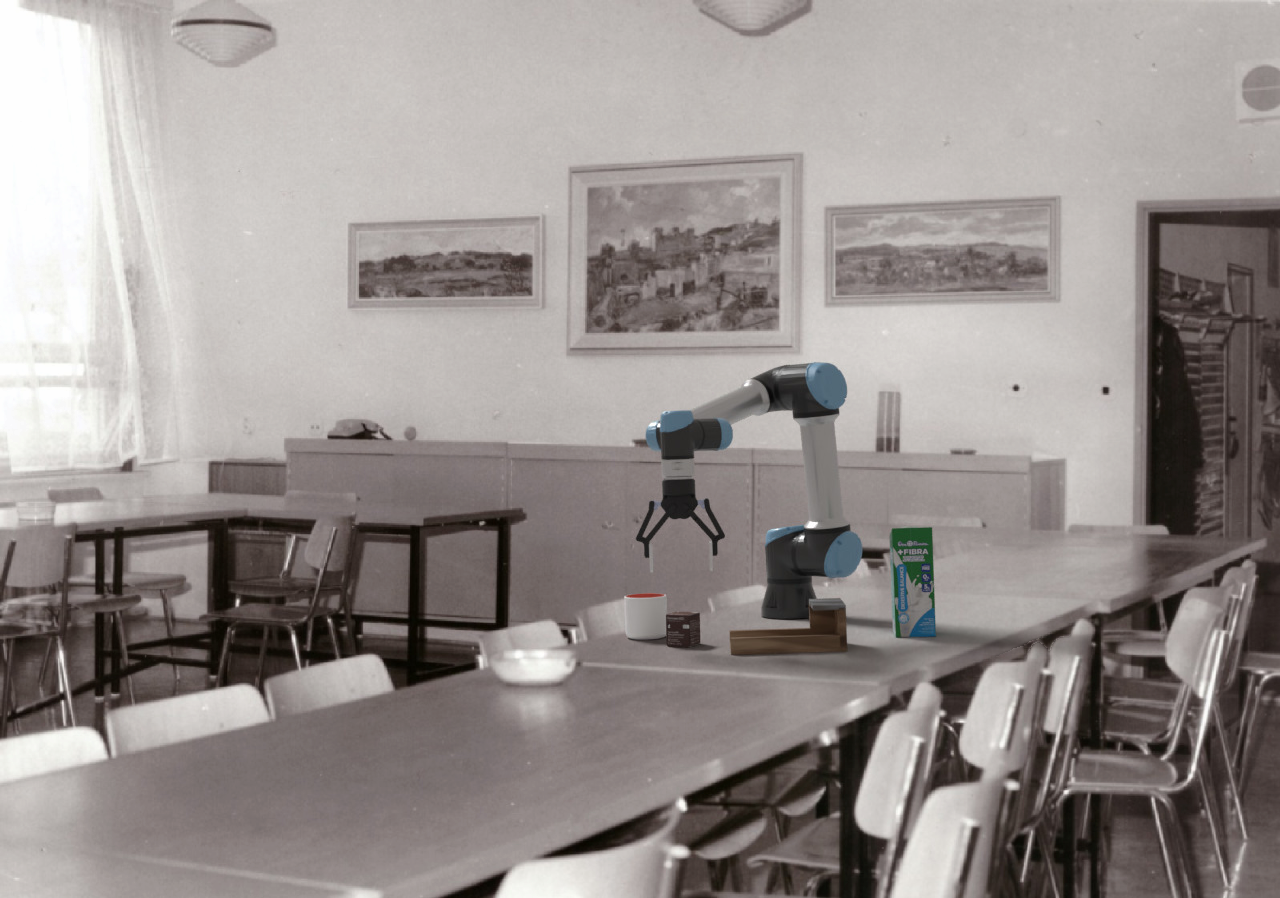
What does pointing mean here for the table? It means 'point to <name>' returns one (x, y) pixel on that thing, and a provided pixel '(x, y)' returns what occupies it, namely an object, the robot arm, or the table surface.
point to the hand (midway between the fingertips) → (681, 571)
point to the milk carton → (912, 582)
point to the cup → (645, 616)
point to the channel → (798, 633)
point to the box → (683, 629)
